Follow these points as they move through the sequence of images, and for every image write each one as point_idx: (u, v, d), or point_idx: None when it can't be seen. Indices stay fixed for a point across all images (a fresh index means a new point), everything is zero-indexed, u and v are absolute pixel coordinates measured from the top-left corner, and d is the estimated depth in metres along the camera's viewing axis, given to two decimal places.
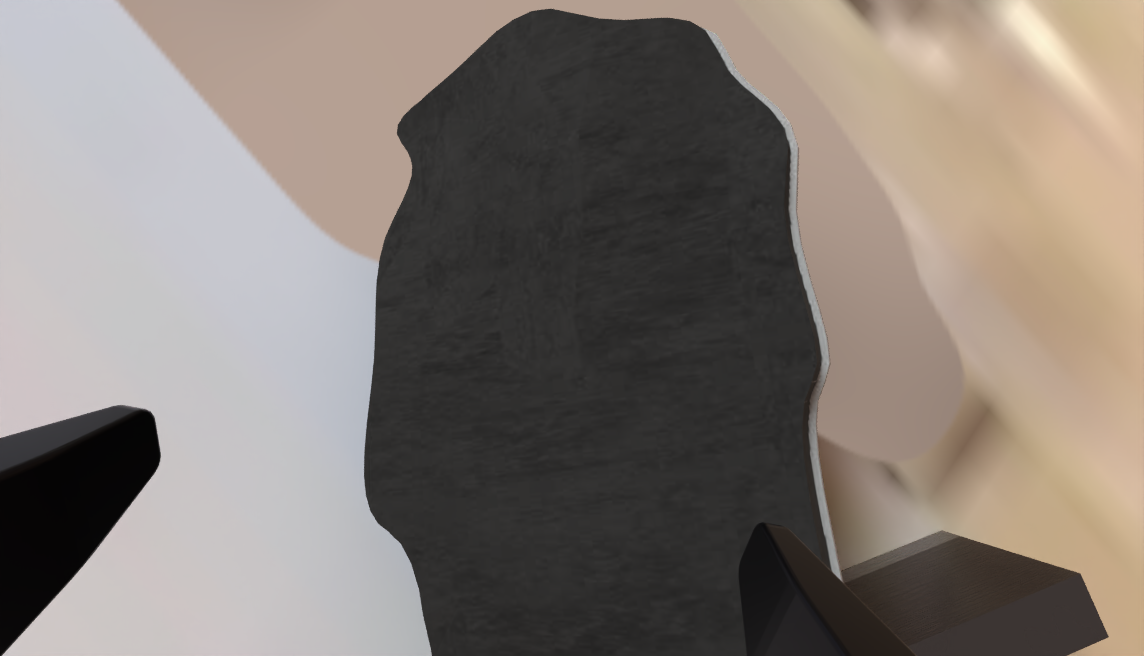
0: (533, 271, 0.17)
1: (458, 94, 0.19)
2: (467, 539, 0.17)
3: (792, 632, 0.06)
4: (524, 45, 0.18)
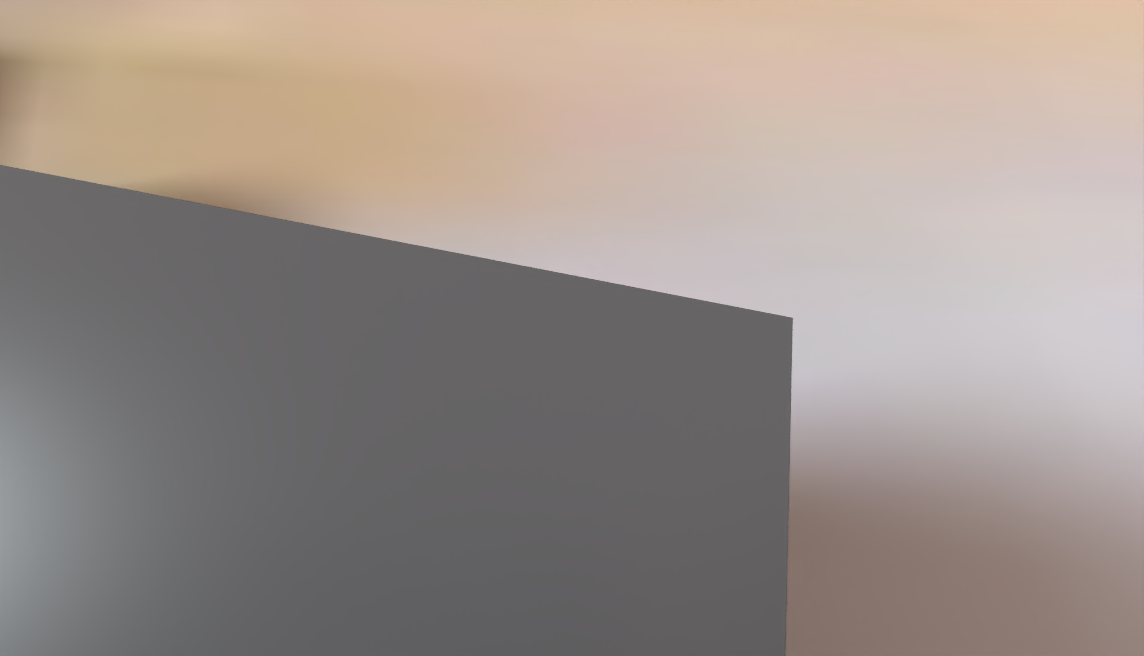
0: None
1: None
2: None
3: None
4: None
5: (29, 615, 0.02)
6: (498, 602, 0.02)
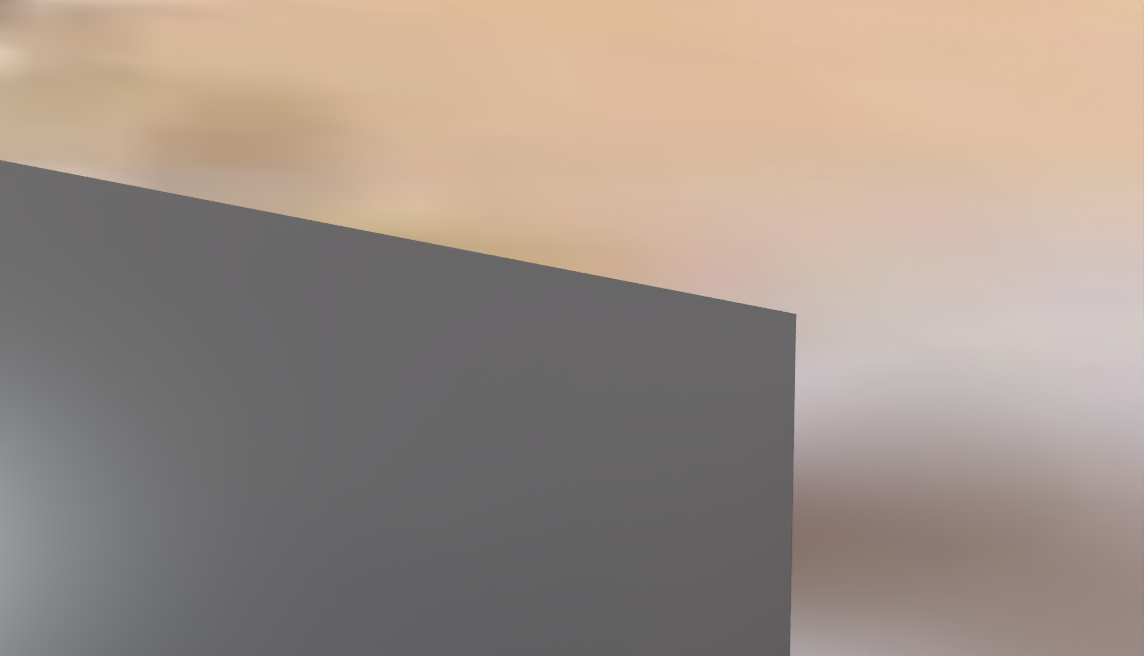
0: None
1: None
2: None
3: None
4: None
5: (43, 606, 0.02)
6: (506, 594, 0.02)
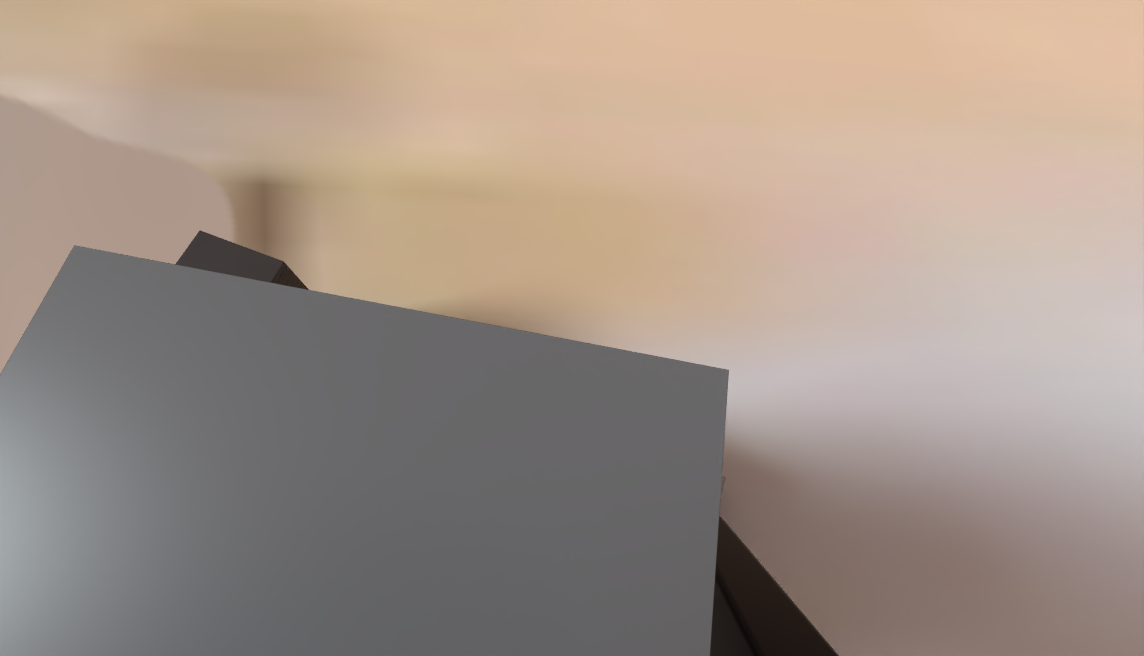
0: None
1: None
2: None
3: None
4: None
5: (170, 594, 0.03)
6: (503, 586, 0.03)
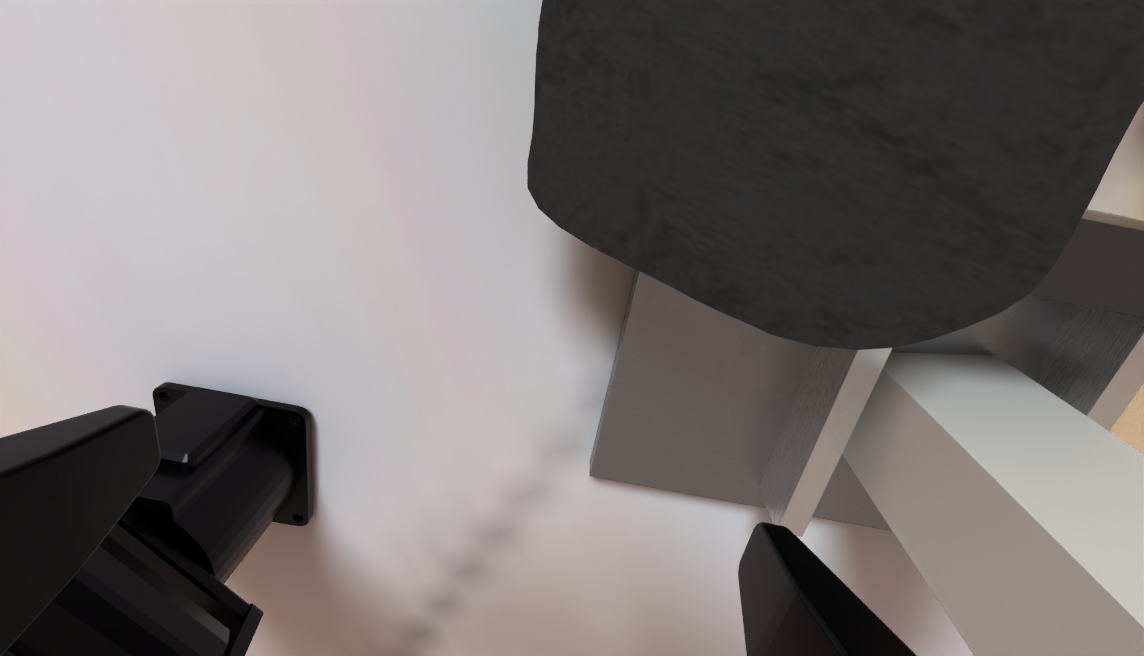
0: None
1: None
2: None
3: (792, 632, 0.06)
4: None
5: None
6: None
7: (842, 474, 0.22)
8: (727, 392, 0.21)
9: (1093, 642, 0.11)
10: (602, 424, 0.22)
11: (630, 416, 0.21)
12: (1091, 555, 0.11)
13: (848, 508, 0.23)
